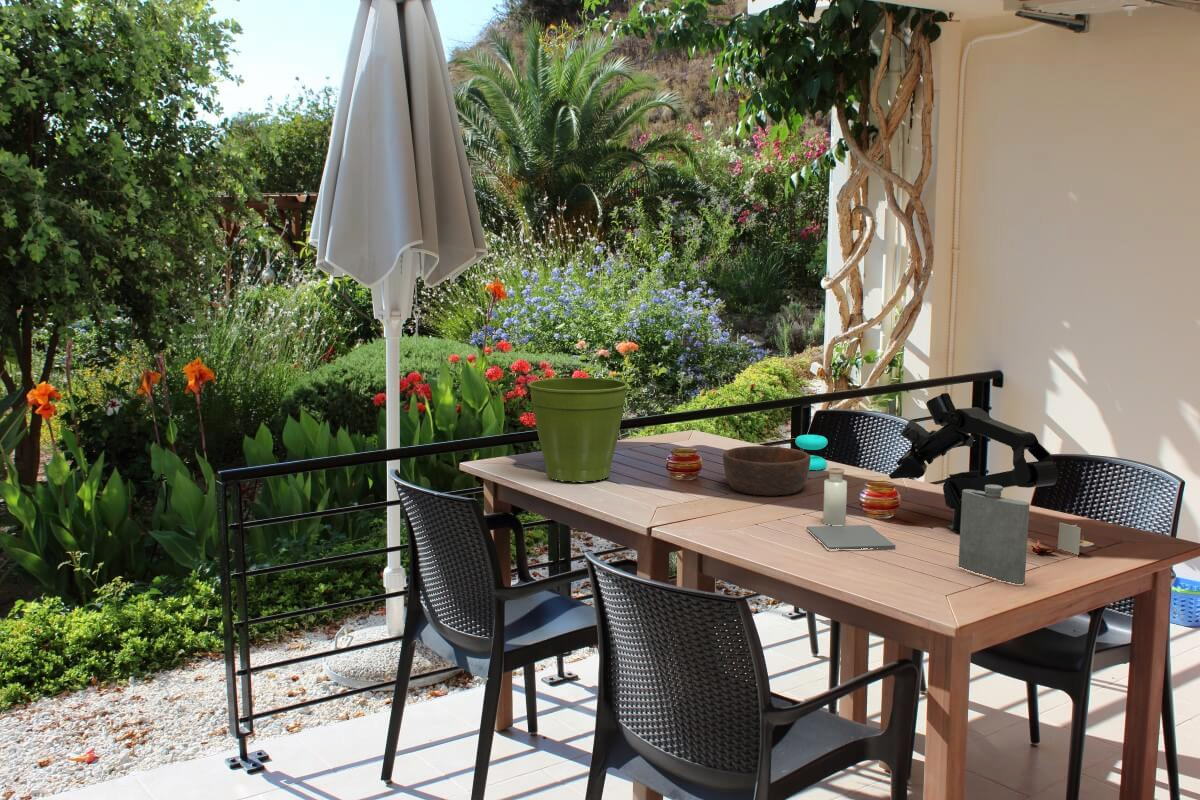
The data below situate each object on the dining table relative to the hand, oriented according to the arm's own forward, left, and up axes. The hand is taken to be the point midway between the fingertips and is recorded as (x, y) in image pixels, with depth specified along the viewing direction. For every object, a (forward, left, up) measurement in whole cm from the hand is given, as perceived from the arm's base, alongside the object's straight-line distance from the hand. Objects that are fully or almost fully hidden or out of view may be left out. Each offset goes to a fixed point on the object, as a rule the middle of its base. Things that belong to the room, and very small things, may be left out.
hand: (893, 470), depth 280 cm
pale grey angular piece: (-36, -29, -13) cm, 48 cm away
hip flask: (-50, -3, -12) cm, 52 cm away
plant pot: (+54, +78, -12) cm, 95 cm away
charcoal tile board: (-20, +18, -12) cm, 30 cm away
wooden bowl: (+34, +25, -13) cm, 44 cm away
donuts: (+60, +4, -12) cm, 61 cm away
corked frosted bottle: (-5, +17, -12) cm, 22 cm away
